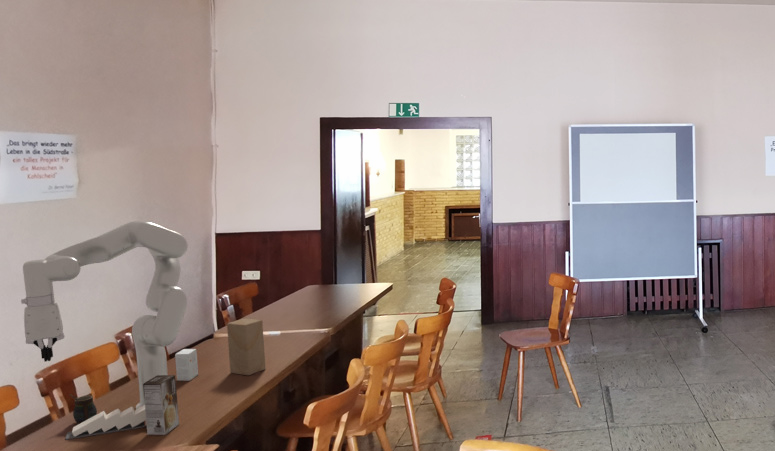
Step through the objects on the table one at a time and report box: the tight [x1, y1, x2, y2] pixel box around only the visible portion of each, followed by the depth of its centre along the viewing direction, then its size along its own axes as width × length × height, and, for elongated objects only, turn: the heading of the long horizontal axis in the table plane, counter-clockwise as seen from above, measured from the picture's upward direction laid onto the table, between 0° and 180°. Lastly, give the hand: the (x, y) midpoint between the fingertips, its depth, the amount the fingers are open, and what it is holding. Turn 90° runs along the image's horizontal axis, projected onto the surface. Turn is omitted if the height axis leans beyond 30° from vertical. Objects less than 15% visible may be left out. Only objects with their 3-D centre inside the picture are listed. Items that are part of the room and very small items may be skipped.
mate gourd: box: [69, 394, 98, 424], centre depth 234 cm, size 7×8×10 cm
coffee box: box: [143, 374, 180, 436], centre depth 223 cm, size 9×6×16 cm
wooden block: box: [226, 318, 267, 376], centre depth 285 cm, size 10×10×20 cm
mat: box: [65, 421, 146, 441], centre depth 226 cm, size 6×23×1 cm, turn 110°
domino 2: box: [87, 408, 122, 434], centre depth 225 cm, size 5×2×10 cm
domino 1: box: [71, 410, 107, 437], centre depth 224 cm, size 5×2×10 cm
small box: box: [174, 348, 199, 382], centre depth 281 cm, size 8×6×10 cm
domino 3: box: [102, 406, 135, 432], centre depth 227 cm, size 5×2×10 cm
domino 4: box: [116, 405, 146, 430], centre depth 228 cm, size 5×2×10 cm
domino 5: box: [130, 415, 146, 428], centre depth 229 cm, size 5×2×10 cm
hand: (47, 360), depth 219 cm, fingers closed
